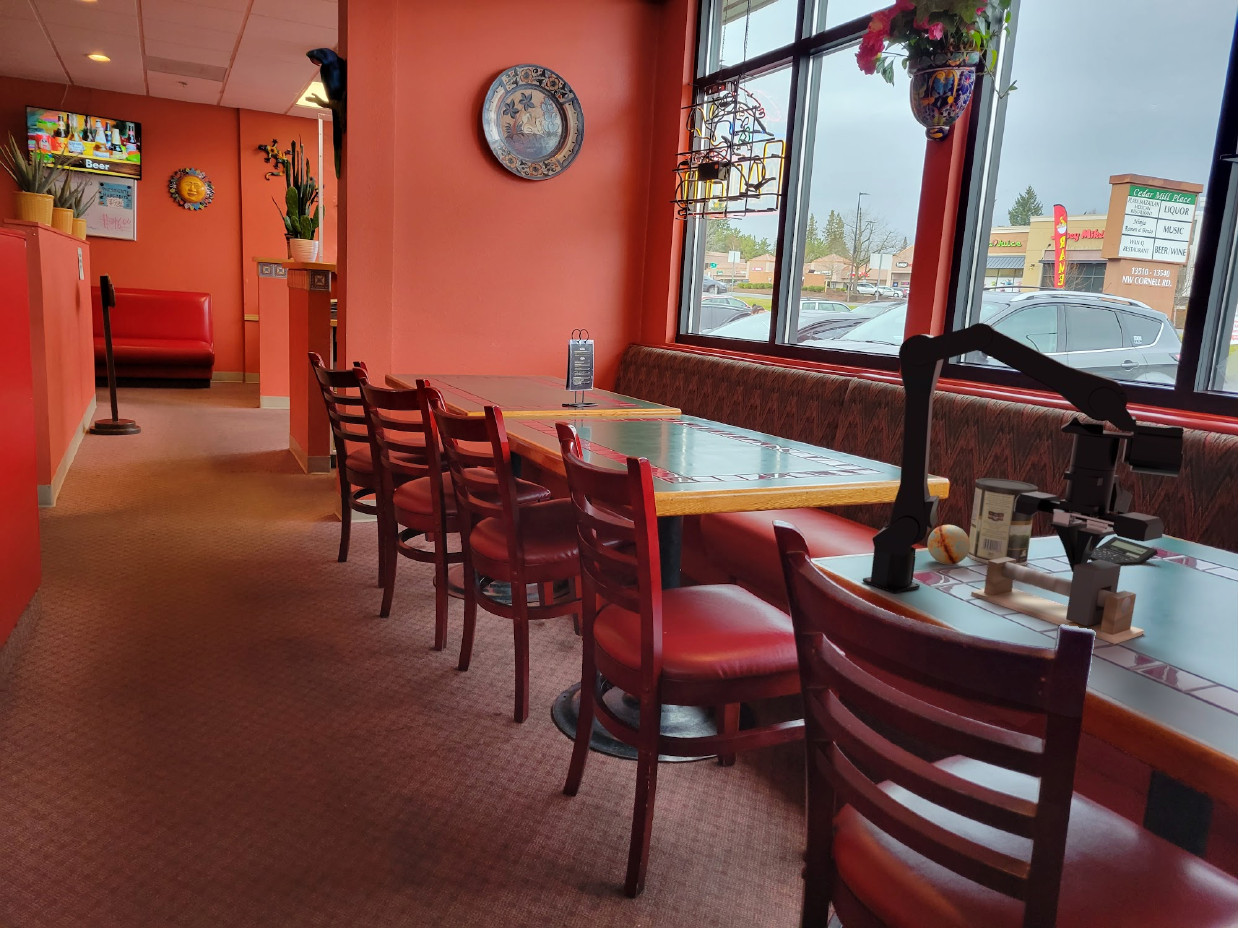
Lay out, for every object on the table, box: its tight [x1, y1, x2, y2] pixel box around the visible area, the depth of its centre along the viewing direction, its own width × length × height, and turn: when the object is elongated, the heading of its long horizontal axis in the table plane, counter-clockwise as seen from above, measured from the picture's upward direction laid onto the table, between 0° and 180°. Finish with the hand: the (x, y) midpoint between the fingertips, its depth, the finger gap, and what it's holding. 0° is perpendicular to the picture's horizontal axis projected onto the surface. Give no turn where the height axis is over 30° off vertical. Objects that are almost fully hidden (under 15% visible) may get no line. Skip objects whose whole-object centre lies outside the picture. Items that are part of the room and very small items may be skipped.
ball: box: [926, 524, 970, 566], centre depth 151 cm, size 7×7×7 cm
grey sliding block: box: [1066, 560, 1122, 626], centre depth 123 cm, size 3×7×8 cm, turn 124°
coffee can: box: [966, 477, 1039, 567], centre depth 156 cm, size 10×10×14 cm
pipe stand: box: [970, 557, 1145, 645], centre depth 127 cm, size 22×8×6 cm, turn 34°
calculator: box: [1089, 536, 1159, 566], centre depth 162 cm, size 9×12×3 cm
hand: (1076, 572), depth 125 cm, fingers closed
